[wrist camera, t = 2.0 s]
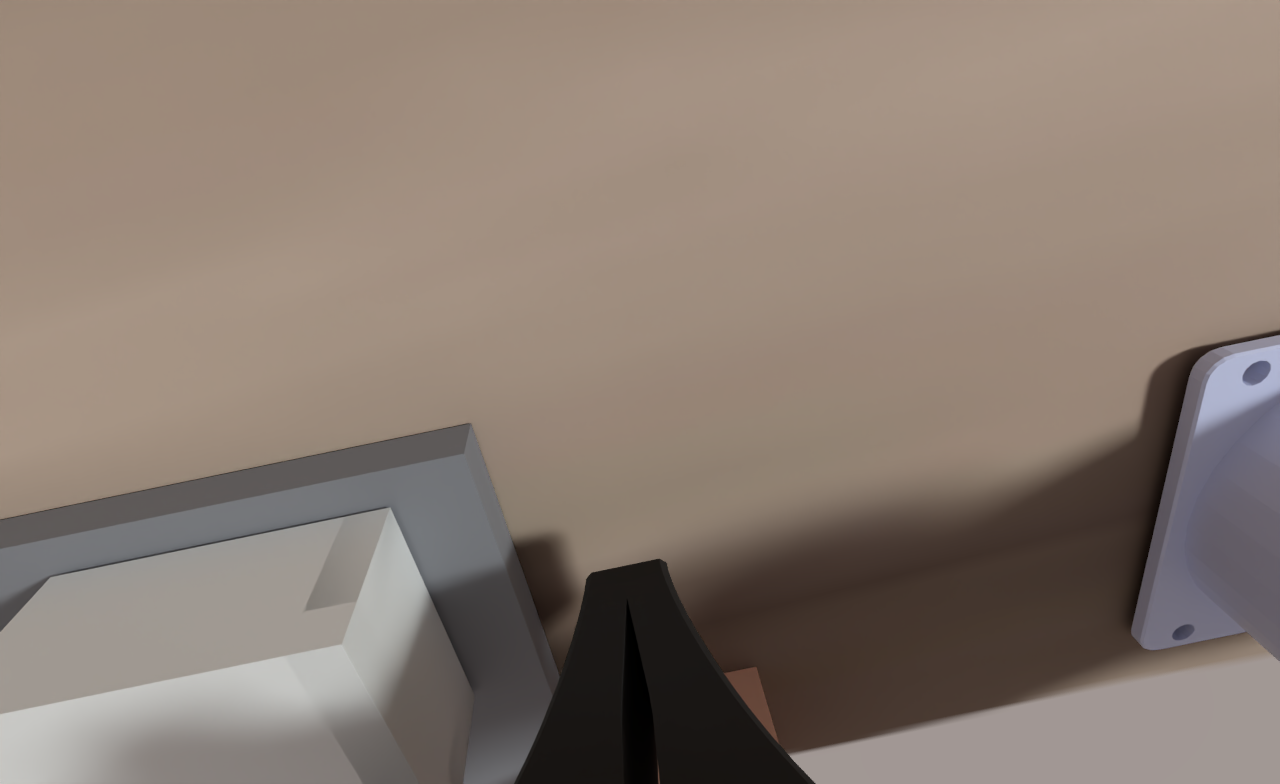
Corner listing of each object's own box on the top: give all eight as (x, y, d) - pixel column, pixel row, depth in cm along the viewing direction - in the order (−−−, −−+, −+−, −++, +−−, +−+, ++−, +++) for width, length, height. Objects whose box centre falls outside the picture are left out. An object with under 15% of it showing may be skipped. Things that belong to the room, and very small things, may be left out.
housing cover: (390, 507, 12) (341, 644, 9) (474, 695, 14) (454, 846, 12) (50, 577, 12) (-94, 733, 9) (191, 753, 14) (108, 917, 12)
